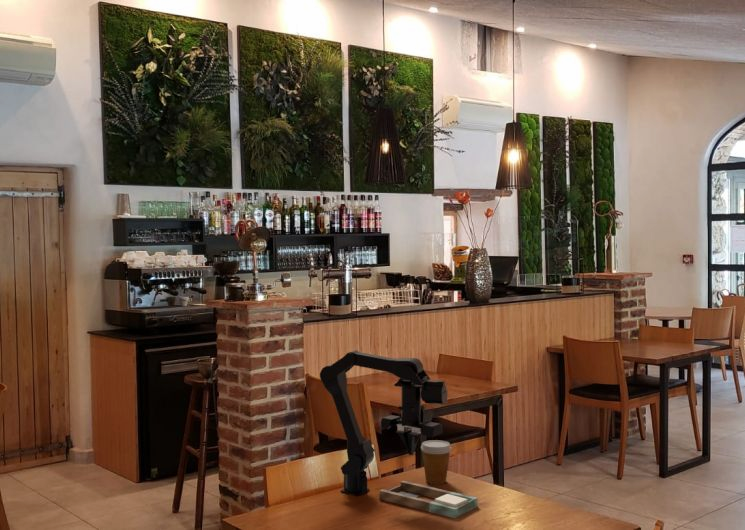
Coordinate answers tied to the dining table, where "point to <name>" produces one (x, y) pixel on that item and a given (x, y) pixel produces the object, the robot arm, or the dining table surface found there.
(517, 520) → the dining table surface
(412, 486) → the box
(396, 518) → the dining table surface
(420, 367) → the robot arm
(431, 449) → the disposable coffee cup
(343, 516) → the dining table surface
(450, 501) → the ivory block
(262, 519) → the dining table surface
